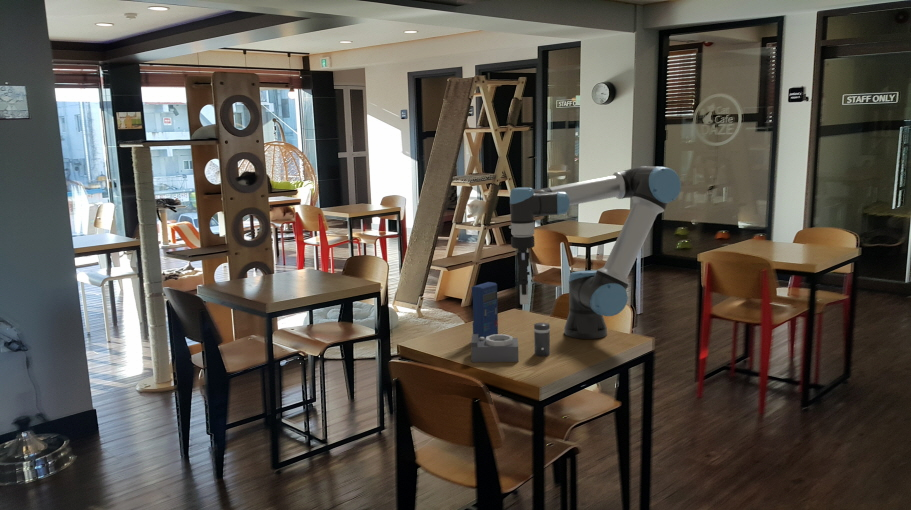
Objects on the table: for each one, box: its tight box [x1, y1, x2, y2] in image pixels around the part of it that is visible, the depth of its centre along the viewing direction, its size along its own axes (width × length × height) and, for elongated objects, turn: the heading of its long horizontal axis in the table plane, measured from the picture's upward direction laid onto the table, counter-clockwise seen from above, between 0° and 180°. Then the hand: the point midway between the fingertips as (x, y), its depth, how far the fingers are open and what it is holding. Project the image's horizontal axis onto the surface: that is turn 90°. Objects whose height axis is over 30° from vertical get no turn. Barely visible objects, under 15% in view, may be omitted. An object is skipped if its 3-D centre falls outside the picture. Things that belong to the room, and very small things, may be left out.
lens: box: [533, 322, 551, 357], centre depth 233 cm, size 5×5×10 cm
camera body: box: [470, 333, 519, 363], centre depth 231 cm, size 15×10×6 cm, turn 86°
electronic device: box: [471, 281, 499, 338], centre depth 251 cm, size 10×5×20 cm, turn 141°
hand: (524, 299), depth 233 cm, fingers open, 13 cm apart
